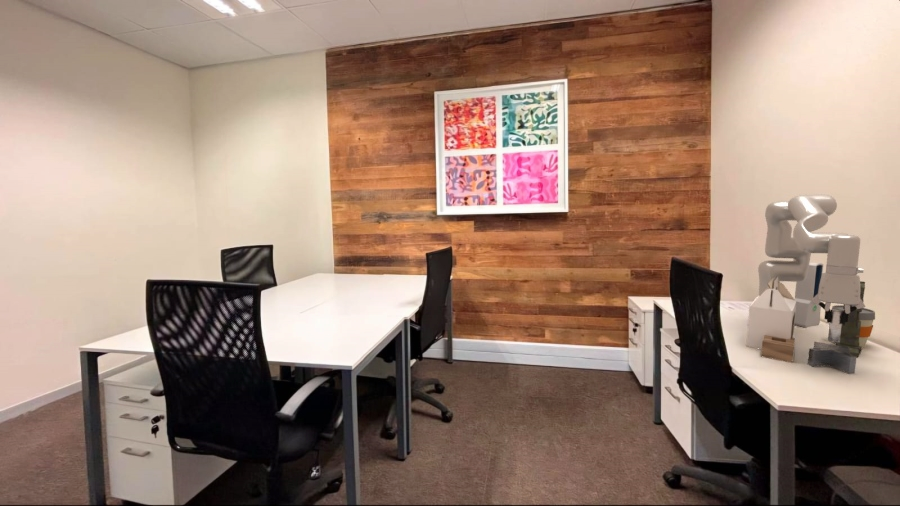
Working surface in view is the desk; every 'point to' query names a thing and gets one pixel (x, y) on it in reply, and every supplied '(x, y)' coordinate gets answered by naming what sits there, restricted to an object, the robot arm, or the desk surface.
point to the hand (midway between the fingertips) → (835, 322)
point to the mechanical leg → (852, 328)
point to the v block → (832, 357)
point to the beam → (778, 348)
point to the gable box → (771, 314)
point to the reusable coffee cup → (862, 323)
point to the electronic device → (808, 297)
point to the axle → (835, 326)
